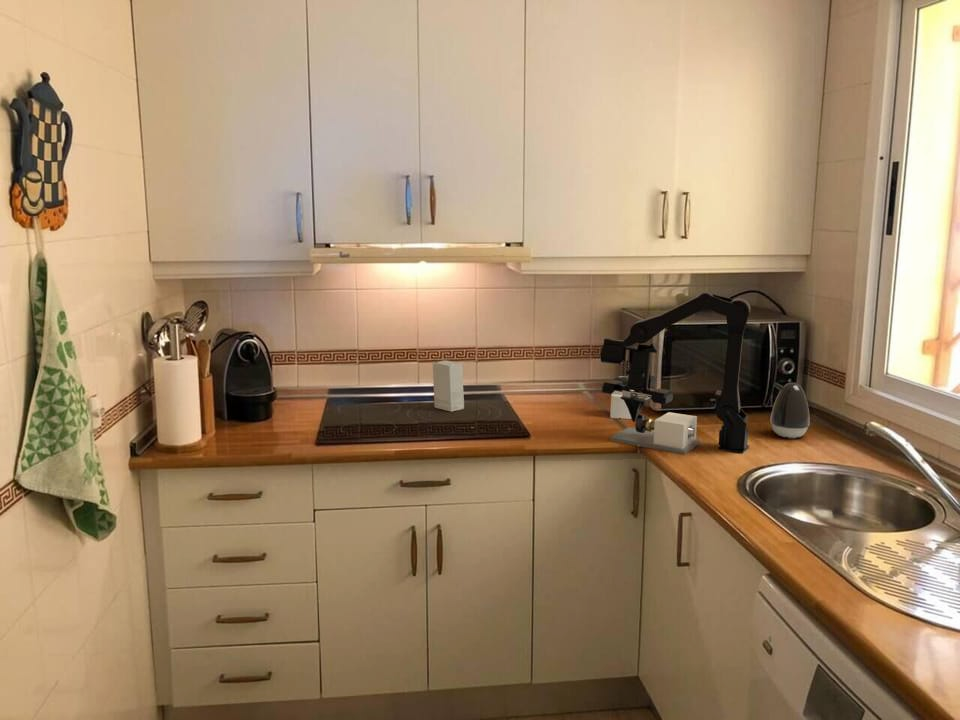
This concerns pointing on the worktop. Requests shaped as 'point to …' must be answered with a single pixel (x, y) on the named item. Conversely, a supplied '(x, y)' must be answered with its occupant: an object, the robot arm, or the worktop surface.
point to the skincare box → (448, 385)
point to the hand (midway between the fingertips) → (634, 421)
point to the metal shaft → (648, 425)
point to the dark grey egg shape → (790, 411)
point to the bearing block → (663, 434)
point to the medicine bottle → (619, 403)
